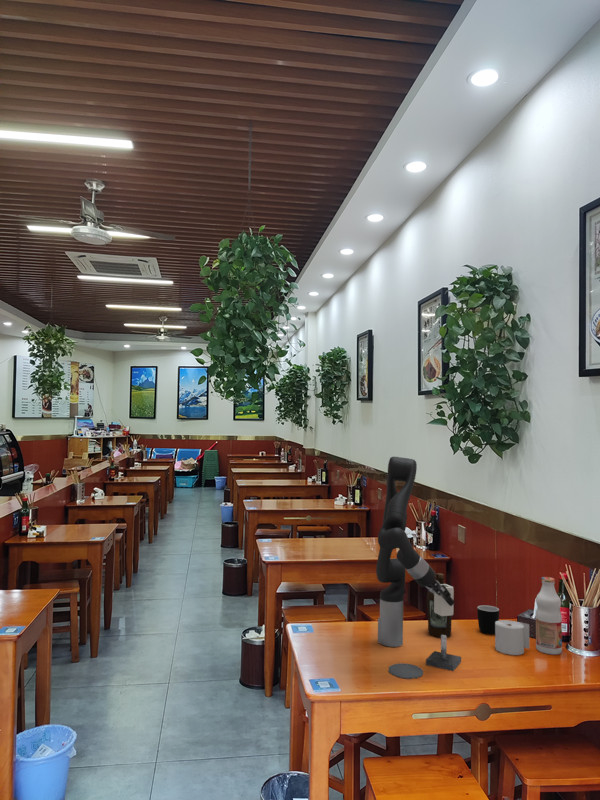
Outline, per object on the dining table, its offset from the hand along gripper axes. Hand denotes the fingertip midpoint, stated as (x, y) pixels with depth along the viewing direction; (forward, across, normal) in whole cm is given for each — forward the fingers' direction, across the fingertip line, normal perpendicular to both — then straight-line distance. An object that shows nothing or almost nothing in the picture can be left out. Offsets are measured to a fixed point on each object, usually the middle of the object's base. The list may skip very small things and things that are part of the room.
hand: (447, 601), depth 209 cm
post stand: (+14, 0, +17) cm, 22 cm away
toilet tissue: (+38, +5, -7) cm, 39 cm away
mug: (+42, +26, -11) cm, 51 cm away
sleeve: (+2, 0, +4) cm, 5 cm away
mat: (+2, -3, +29) cm, 29 cm away
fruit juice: (+48, 0, -17) cm, 51 cm away
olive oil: (+26, +28, +5) cm, 39 cm away
